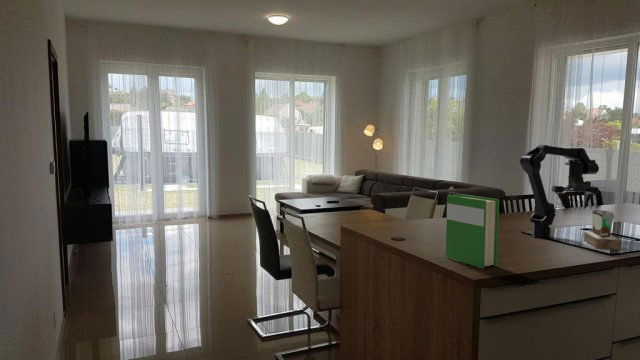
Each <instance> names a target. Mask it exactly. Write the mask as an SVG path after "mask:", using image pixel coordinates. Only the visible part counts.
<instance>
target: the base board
mask: <svg viewBox="0 0 640 360" xmlns="http://www.w3.org/2000/svg"><path fill="white" fill-rule="evenodd" d="M583 242H584V243H586V242H587V243H586V244H588V245H589V244H590V246H591V247H593V248H594V247H595V248H594V249H596V250H610V251H611V250H612V251H613V250H614V251H621V249H622V240H621V239H620V238H618V237H616V236H614V235H611V234H610V237H599V236H597V235H596V234H594V233H592V231H584V233H583Z"/></svg>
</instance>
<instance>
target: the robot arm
mask: <svg viewBox="0 0 640 360" xmlns="http://www.w3.org/2000/svg"><path fill="white" fill-rule="evenodd" d="M547 155H553V156H560V157H564V158H565V159H567V160H568V161H566V162H565V163H564V164H565V165H566V166H568V175H567V179H568V181H567V183H568V184H567V187H566V186H565V187H564V186H563V185H552V187H551V192H553V193H554V194H556V195H557V197H558V198H559V201H560V203H561V207H562V208H565V194H566V193H565V192H576V193H579V192H581V193H584V196H583V197H584V198H583V208H584V209H586V208H587V206H588V204H589V202H590V200H591V198H592V197H593V196H596V194H599V193H600V188H599V187H597V186H592V182H591V181H589V180H586V181H584V176H583V175H596V174H598V172H599V170H600V167H599V164H598V163H597V161H596V159H591V158H590V157H589V155H588V154H587V151H586V149H585V148H583V147H566V148H565V147H560V146H559V147H558V146H552V145H547V144H538V145H537V146H536V147H535V148H533V149H532V150H530V151H528V152H527V153H525V154H523V155H521V156H520V159H519V164H520V166H521V168H522V169H523V171H524V173H526V174H527V176H528V180H529V181H528V182H529V183H530V184H529V185H530V187H531V190H532V194H533V197H534V201H535V205H534V209H533V210H534V213H532V215H531V216H530V217H529V221H530V223H532V233H531V236H532V237H533V238H536V239H537V238H540V239H550V238H551V227H550V226H552V225H553V223H554V220H555V217H556V212H557V211H556V209H555V205H554V203H552V202H549V201H548V199H547V195H546V192H545V187H544V184H543V180H542V177H541V173H540V171H541V168H542V162H543V161H544V160H545V159H546V156H547Z"/></svg>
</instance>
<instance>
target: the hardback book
mask: <svg viewBox="0 0 640 360" xmlns="http://www.w3.org/2000/svg"><path fill="white" fill-rule="evenodd" d="M446 196H447V197H446V232H445V234H446V235H445V257H446V256H447V257H450V258H453V259H456V260H459V261H462V262H465V263H468V264H471V265H474V266H478V267H481V268H484V269H485V267H490V266H491V265H494V266H497V267H498V254H499V253H498V252H499V222H500V221H499V220H500V199H499V198H491V197H484V196H483V197H482V196H478V195H470V194H449V195H446ZM494 266H493V267H494Z"/></svg>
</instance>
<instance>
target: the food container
mask: <svg viewBox="0 0 640 360" xmlns="http://www.w3.org/2000/svg"><path fill="white" fill-rule="evenodd" d="M591 212H592V213H591V215H592V223H591V224H592V225H591V226H592V227H591V228H592V231H591V232H592V233H594V234H596V235H597V236H599V237H610V235H611V232H612V226H613V225H612V224H613V219H615V214H614V212H612V211H609V210H602V209H593V210H592V211H591Z"/></svg>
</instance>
